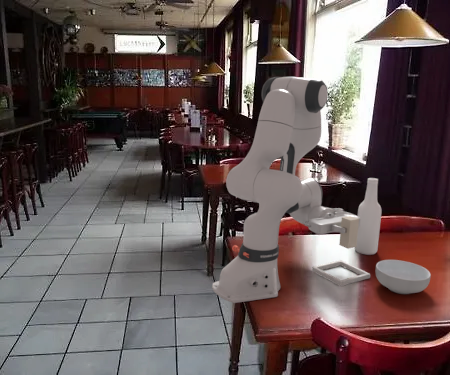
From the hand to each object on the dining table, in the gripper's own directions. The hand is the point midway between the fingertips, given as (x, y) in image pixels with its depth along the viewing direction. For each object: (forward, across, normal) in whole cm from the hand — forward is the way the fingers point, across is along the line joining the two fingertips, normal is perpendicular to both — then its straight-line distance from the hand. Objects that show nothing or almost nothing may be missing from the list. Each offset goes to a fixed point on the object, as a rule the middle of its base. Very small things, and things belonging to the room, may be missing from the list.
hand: (351, 229), depth 148 cm
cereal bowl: (+15, +8, +17) cm, 25 cm away
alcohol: (-14, +25, +17) cm, 34 cm away
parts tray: (-2, -1, +17) cm, 17 cm away
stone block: (-1, 0, +6) cm, 6 cm away
